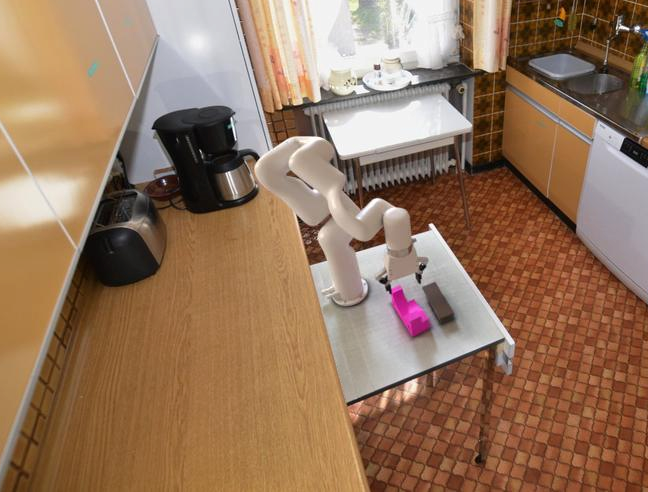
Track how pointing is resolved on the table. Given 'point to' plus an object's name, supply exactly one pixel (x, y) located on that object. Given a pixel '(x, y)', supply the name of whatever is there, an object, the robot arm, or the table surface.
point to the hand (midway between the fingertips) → (404, 285)
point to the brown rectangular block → (438, 302)
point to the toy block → (409, 312)
